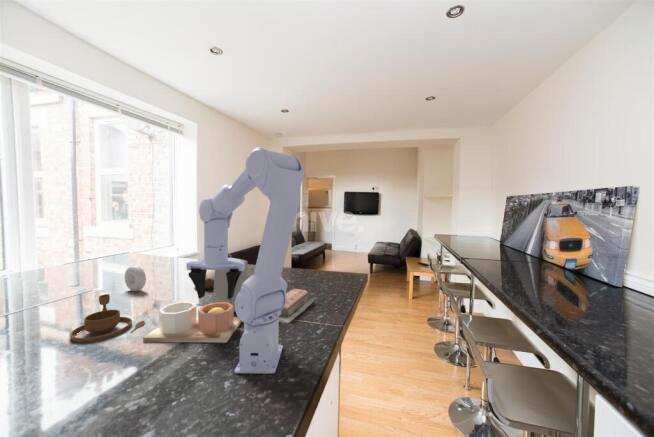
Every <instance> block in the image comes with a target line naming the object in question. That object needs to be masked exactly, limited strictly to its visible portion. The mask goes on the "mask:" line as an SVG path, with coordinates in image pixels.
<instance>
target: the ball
mask: <svg viewBox="0 0 654 437" xmlns="http://www.w3.org/2000/svg"><path fill="white" fill-rule="evenodd" d="M222 311H225V310H224V309H222V308H220V307H216V308H213V309H211V310H210V311H209V312H208V313H218V312H222Z"/></svg>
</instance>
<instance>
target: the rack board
mask: <svg viewBox="0 0 654 437" xmlns="http://www.w3.org/2000/svg"><path fill="white" fill-rule="evenodd" d="M196 318H197V323H196V324H195V325H194V326H193V327H192V328H191V329H189V330H186V331H183V332H180V333H176V334H164V333H162V332H161V330H160V329H159V326H157V327H155V328H154V329H153V330H151V331H150V332H149V333H147V334H146V335H145V336H143V337H142V342H143V343H146V342H149V343H150V342H151V343H157V342H158V343H222V344H224V343H225V344H226V343H227V342H229V339H230V338H231V337H232V336H233V334H234V333H235V332H236V330H237V329H238V328H239V326H241V323H243V321H242V320H240V319H239V317H238V316H233V325H232V327H231V328H230V329H229V330H227V331H224V332H221V333H218V334H202V333H201V332H200V331H199V330H198V315H196Z"/></svg>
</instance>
